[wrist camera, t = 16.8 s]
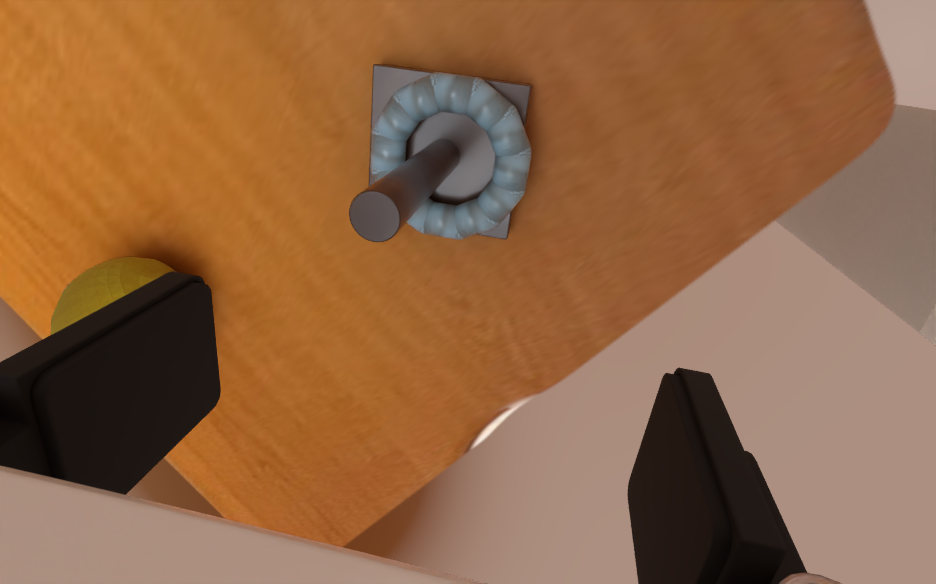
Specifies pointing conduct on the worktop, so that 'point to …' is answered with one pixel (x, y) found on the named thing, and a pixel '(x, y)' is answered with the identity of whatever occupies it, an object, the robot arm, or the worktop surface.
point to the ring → (485, 111)
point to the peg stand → (430, 160)
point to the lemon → (104, 287)
